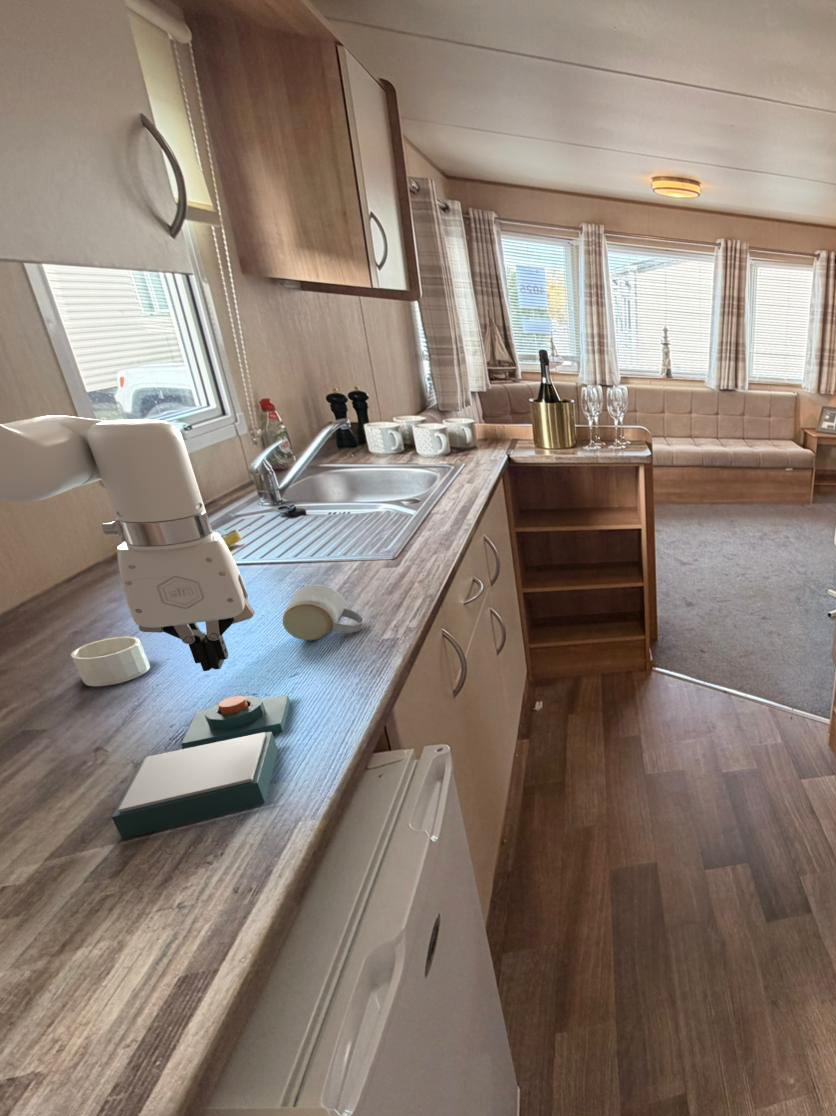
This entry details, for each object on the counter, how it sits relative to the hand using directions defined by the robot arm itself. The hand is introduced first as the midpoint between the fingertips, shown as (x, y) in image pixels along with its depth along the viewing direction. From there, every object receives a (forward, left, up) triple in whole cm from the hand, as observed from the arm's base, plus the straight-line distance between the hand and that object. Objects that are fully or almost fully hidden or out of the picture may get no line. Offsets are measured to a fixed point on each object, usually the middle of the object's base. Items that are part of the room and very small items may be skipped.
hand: (214, 665), depth 82 cm
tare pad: (0, 0, -10) cm, 10 cm away
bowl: (-18, +24, -10) cm, 31 cm away
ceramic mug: (+8, +28, -10) cm, 31 cm away
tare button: (0, 0, -7) cm, 7 cm away
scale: (-1, -14, -10) cm, 17 cm away
